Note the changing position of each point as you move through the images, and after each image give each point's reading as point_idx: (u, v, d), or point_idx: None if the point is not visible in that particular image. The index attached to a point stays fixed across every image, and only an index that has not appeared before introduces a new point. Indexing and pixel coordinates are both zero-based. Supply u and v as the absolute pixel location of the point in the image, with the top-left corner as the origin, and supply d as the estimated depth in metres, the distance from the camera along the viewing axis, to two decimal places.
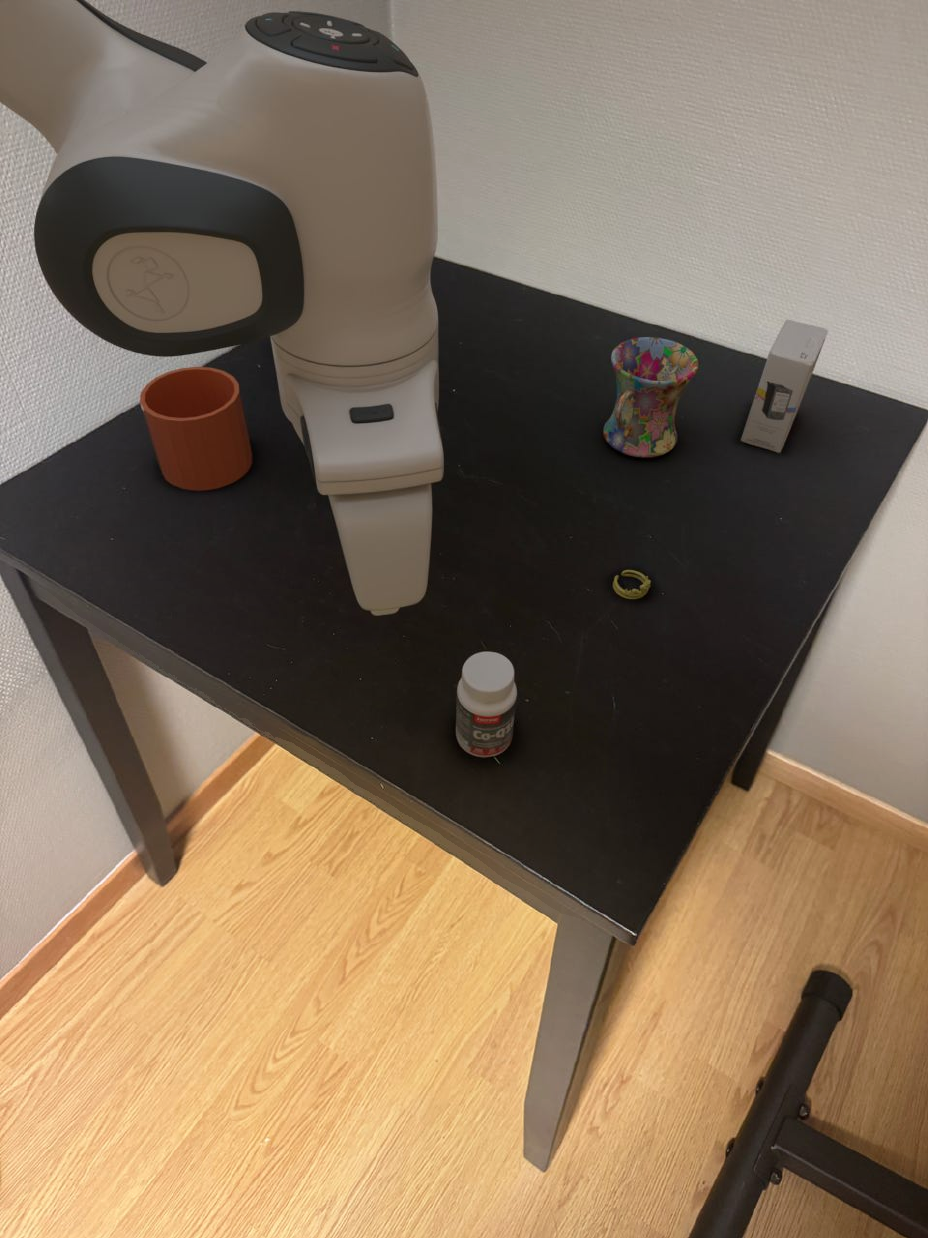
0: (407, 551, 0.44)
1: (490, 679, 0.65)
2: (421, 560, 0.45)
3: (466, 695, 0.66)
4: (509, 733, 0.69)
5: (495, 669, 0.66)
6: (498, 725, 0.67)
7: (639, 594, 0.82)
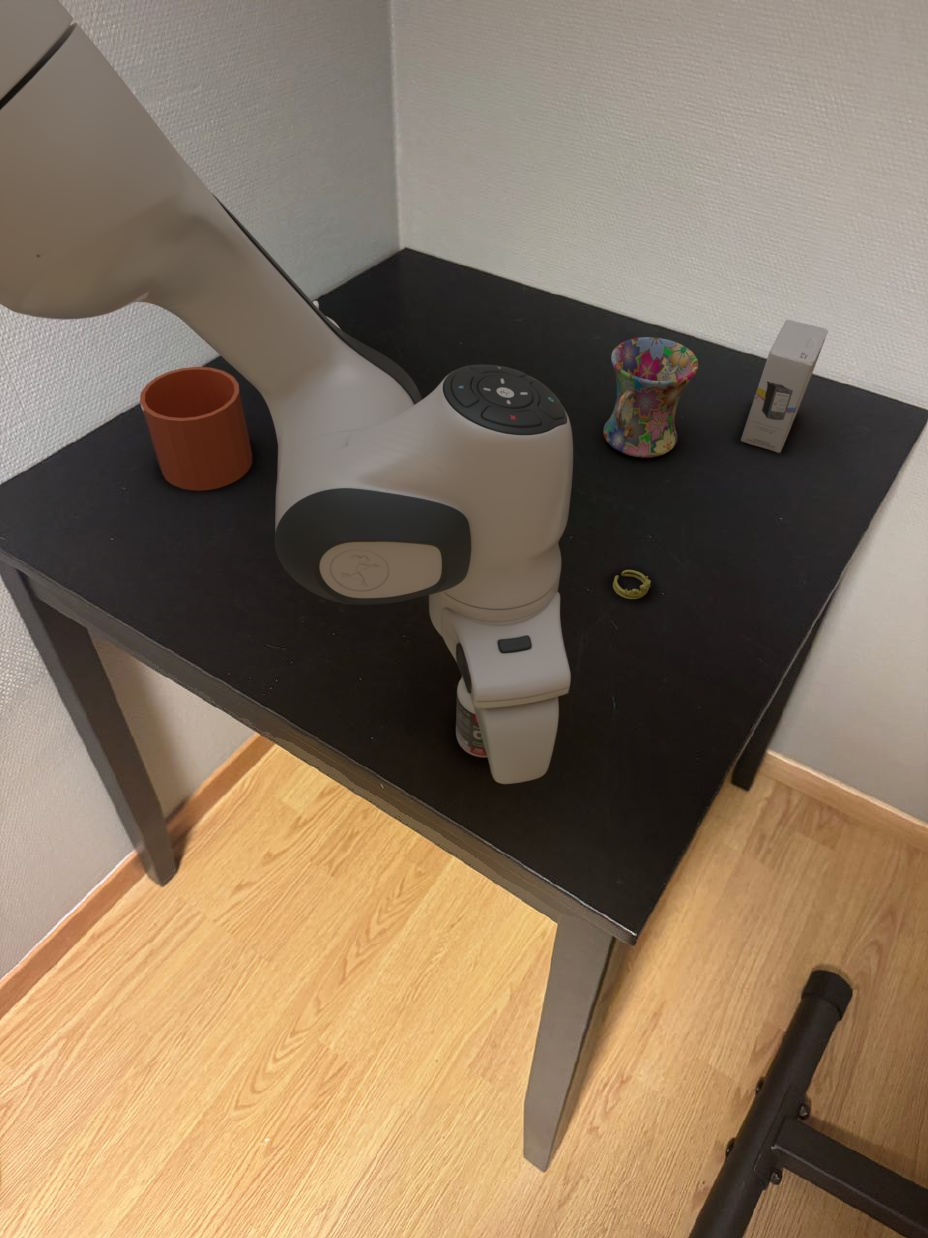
0: (538, 745, 0.57)
1: None
2: (547, 750, 0.57)
3: (466, 695, 0.66)
4: None
5: None
6: None
7: (639, 594, 0.82)
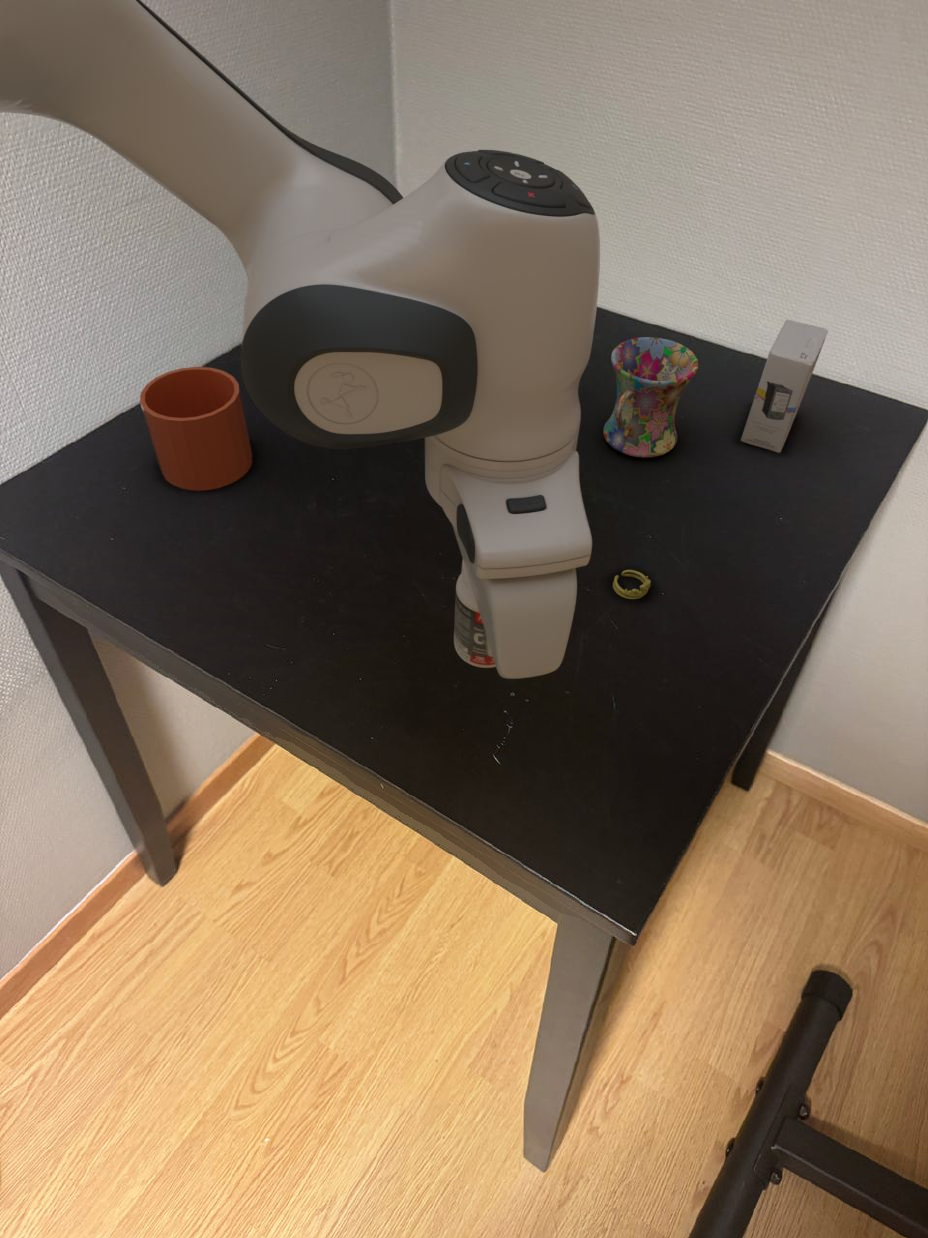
0: (552, 628, 0.48)
1: None
2: (562, 636, 0.49)
3: (466, 590, 0.58)
4: None
5: None
6: None
7: (639, 594, 0.82)
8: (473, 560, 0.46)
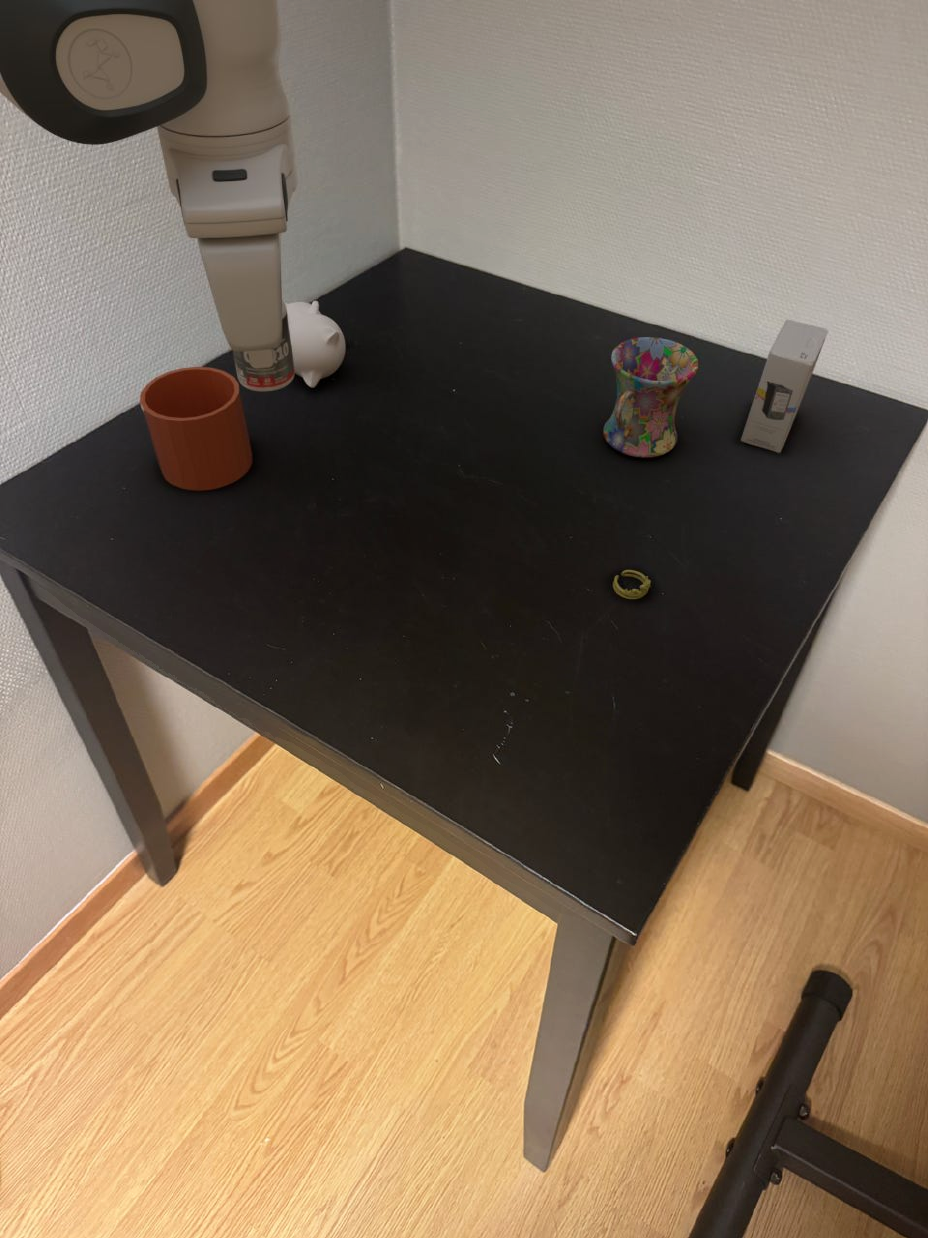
0: (261, 291, 0.57)
1: None
2: (273, 301, 0.57)
3: None
4: (284, 363, 0.70)
5: None
6: None
7: (639, 594, 0.82)
8: None
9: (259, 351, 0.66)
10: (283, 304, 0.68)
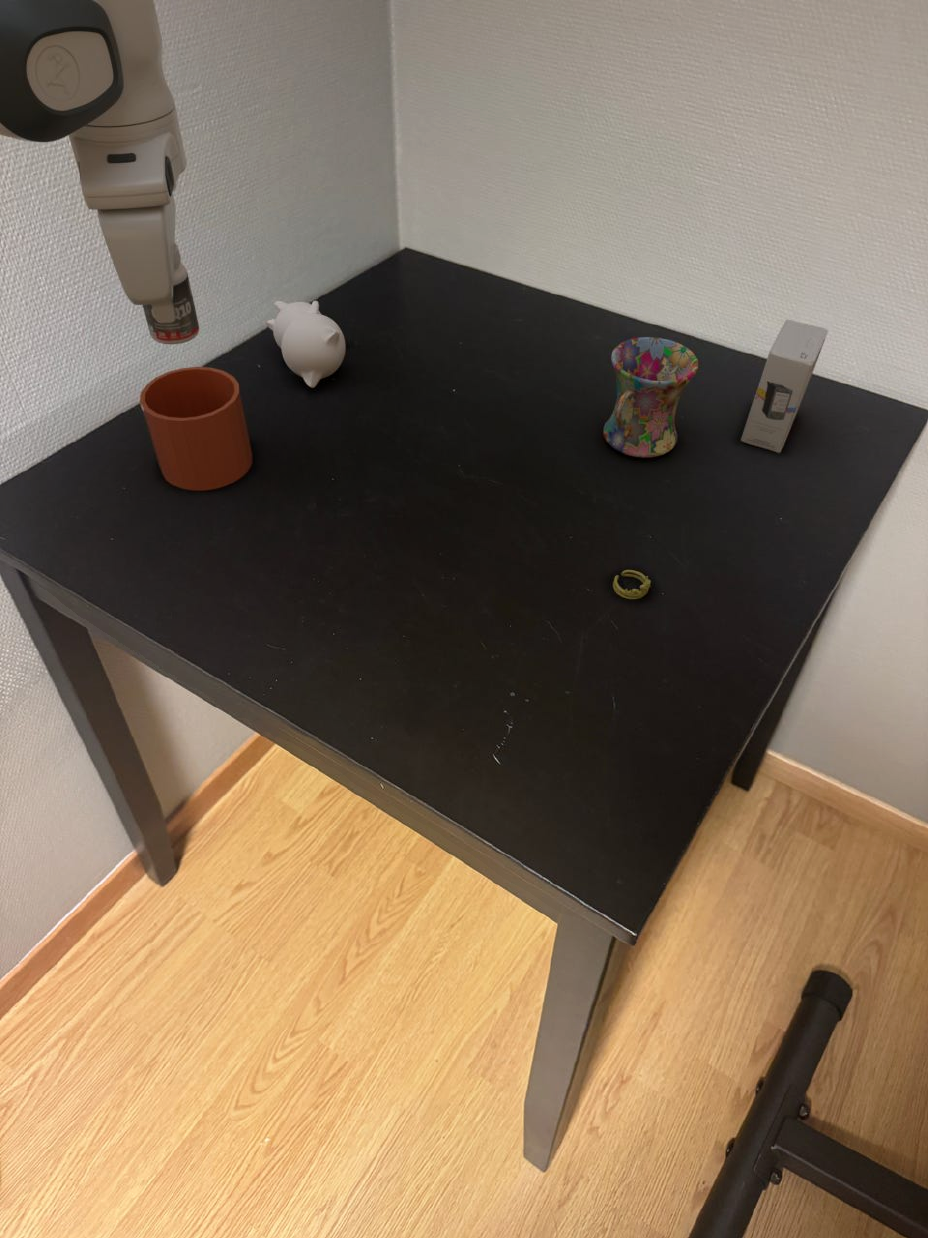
0: (151, 253, 0.69)
1: None
2: (161, 261, 0.70)
3: None
4: (187, 319, 0.82)
5: None
6: None
7: (639, 594, 0.82)
8: None
9: (162, 308, 0.79)
10: (184, 269, 0.80)
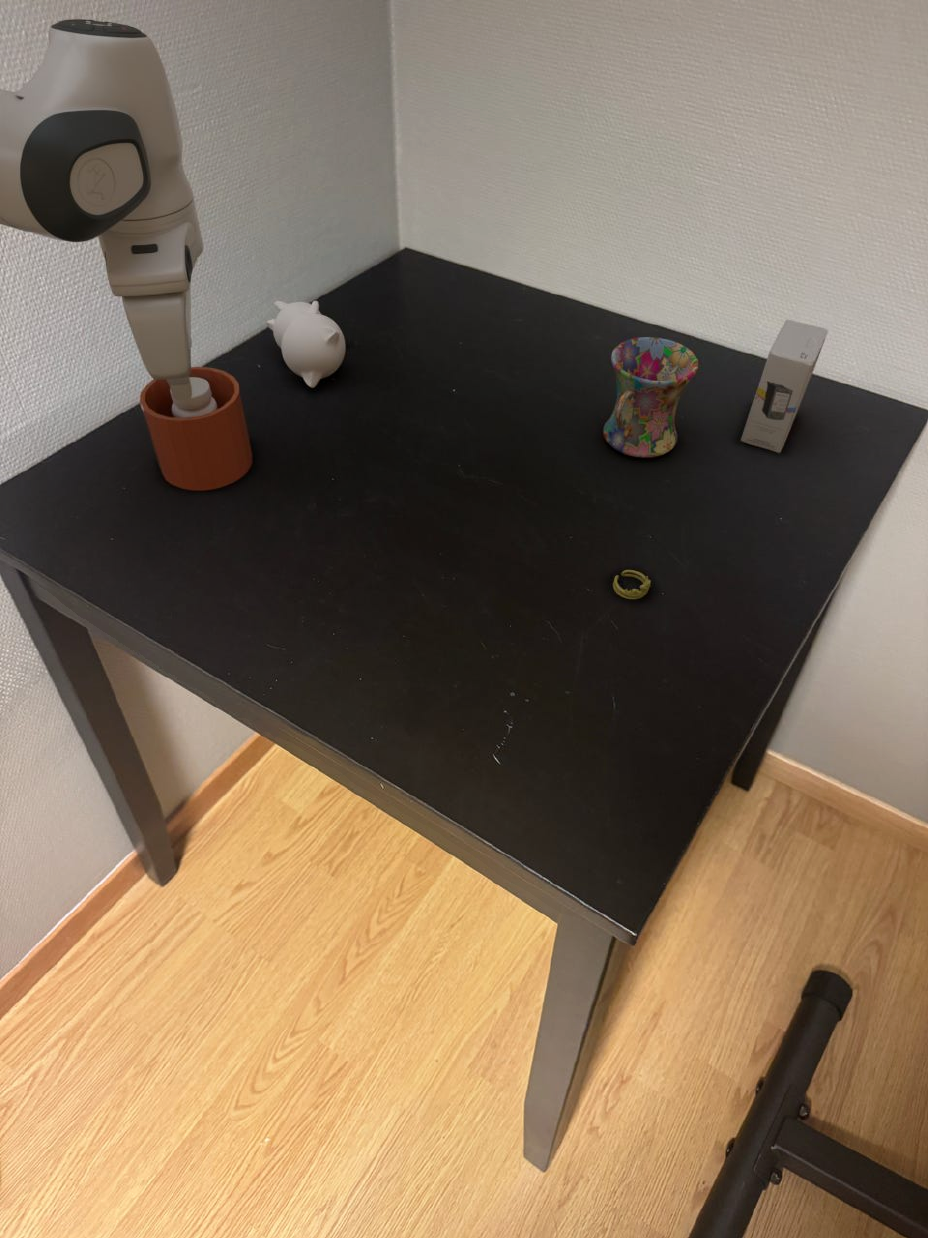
0: (171, 335, 0.75)
1: None
2: (181, 342, 0.75)
3: (175, 407, 0.91)
4: None
5: (195, 386, 0.90)
6: None
7: (639, 594, 0.82)
8: None
9: (179, 387, 0.83)
10: (214, 402, 0.92)
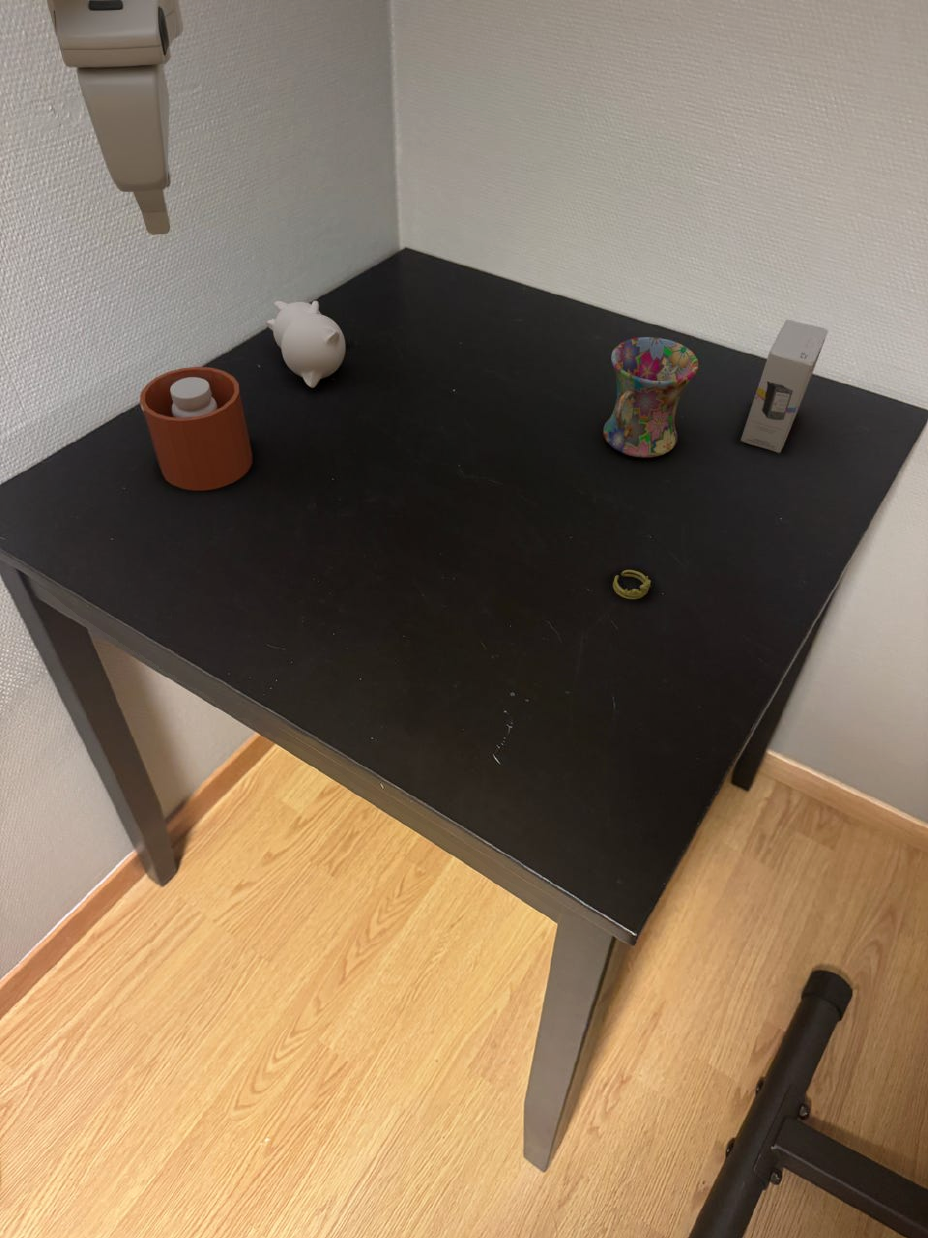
0: (141, 124, 0.58)
1: (189, 391, 0.89)
2: (154, 134, 0.59)
3: (175, 407, 0.91)
4: None
5: (194, 386, 0.90)
6: None
7: (639, 594, 0.82)
8: None
9: (154, 215, 0.66)
10: (214, 402, 0.92)
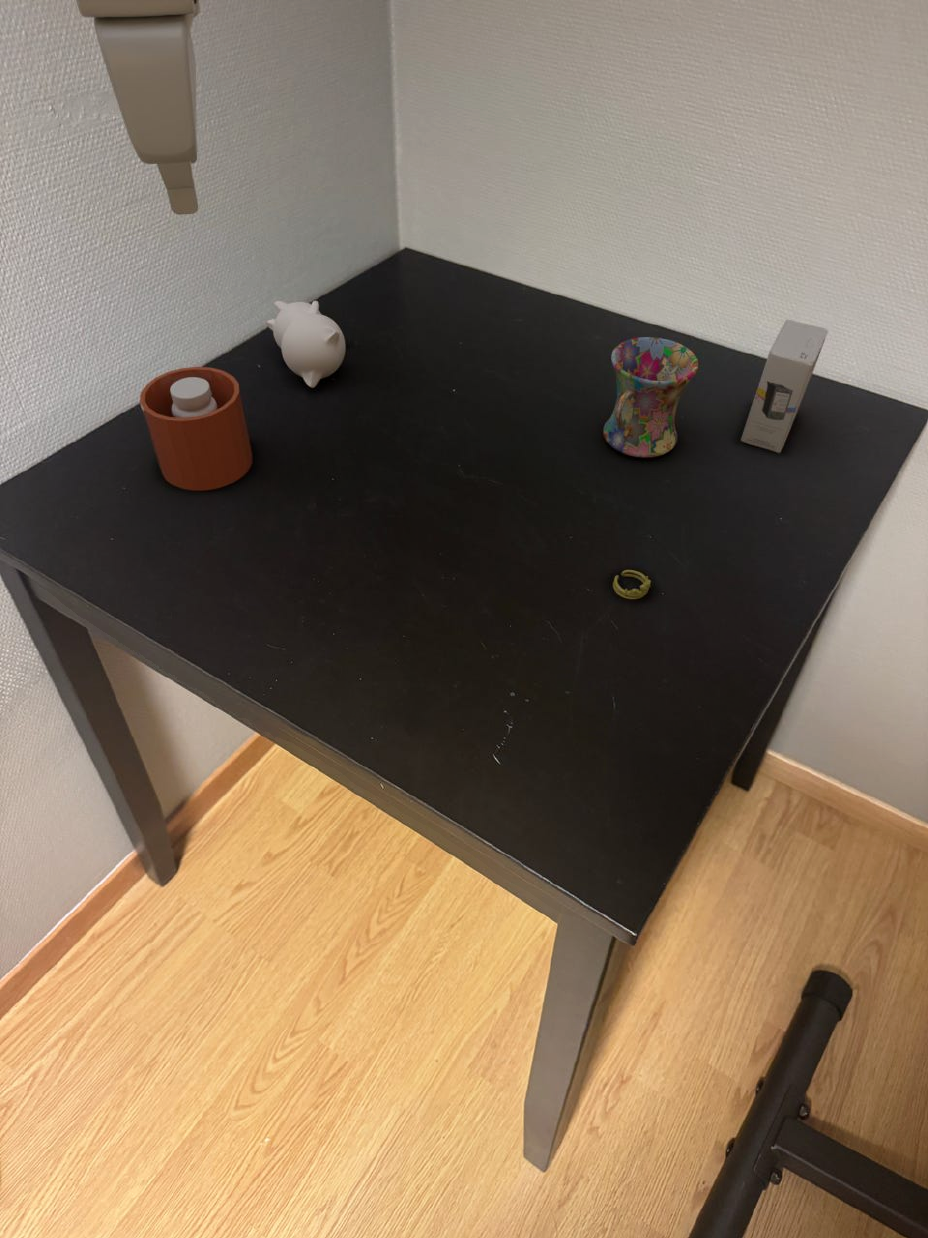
0: (168, 83, 0.50)
1: (189, 391, 0.89)
2: (182, 96, 0.51)
3: (175, 407, 0.91)
4: None
5: (194, 386, 0.90)
6: None
7: (639, 594, 0.82)
8: None
9: (180, 192, 0.59)
10: (214, 402, 0.92)
